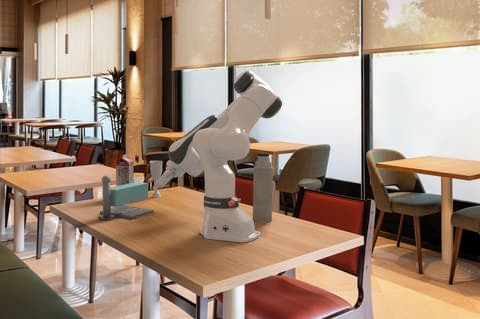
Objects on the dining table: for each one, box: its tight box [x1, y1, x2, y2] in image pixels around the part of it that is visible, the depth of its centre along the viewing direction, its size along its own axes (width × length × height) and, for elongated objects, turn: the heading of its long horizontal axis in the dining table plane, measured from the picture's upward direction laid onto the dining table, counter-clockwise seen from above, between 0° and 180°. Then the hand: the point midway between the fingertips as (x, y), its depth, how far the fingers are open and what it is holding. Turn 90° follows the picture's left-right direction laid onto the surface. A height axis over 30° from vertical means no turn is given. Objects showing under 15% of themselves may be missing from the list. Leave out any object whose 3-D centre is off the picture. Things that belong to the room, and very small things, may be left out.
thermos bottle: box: [252, 152, 274, 223], centre depth 198 cm, size 8×8×28 cm
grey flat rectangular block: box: [99, 204, 155, 220], centre depth 207 cm, size 18×14×1 cm
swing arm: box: [101, 175, 149, 217], centre depth 205 cm, size 24×6×17 cm, turn 151°
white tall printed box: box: [115, 153, 135, 187], centre depth 237 cm, size 7×7×22 cm
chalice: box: [149, 160, 164, 199], centre depth 243 cm, size 7×7×18 cm
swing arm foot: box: [97, 214, 117, 222], centre depth 197 cm, size 5×5×1 cm
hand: (153, 189), depth 211 cm, fingers closed
